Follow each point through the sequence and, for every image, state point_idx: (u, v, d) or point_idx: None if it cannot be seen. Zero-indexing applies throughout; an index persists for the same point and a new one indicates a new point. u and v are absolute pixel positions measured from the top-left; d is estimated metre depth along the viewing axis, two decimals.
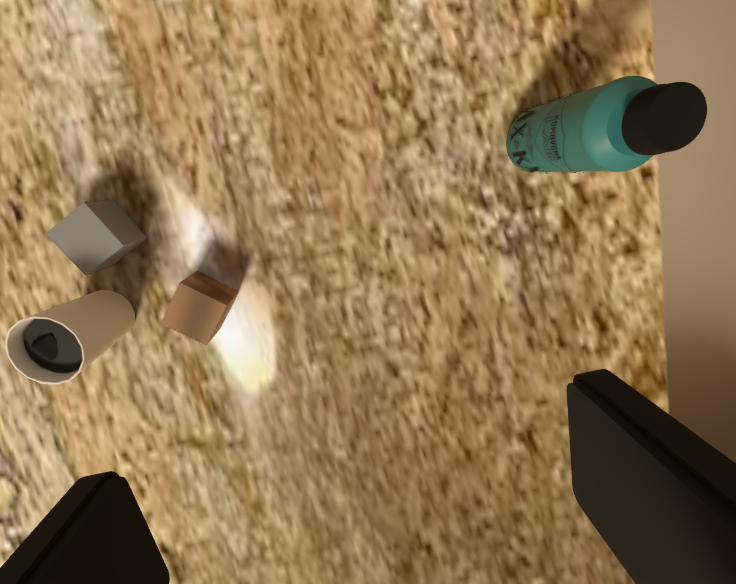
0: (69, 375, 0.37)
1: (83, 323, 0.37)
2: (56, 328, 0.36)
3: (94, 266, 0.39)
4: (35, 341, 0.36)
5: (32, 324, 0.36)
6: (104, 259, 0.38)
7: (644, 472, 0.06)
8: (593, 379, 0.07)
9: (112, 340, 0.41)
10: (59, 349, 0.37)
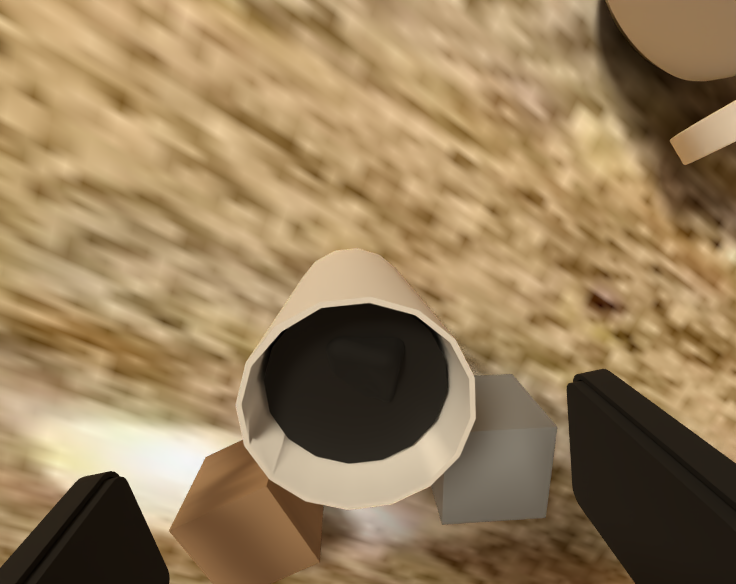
0: (256, 370, 0.11)
1: None
2: (393, 418, 0.13)
3: None
4: (399, 367, 0.12)
5: (440, 377, 0.12)
6: (445, 481, 0.18)
7: (644, 472, 0.06)
8: (593, 379, 0.07)
9: None
10: (339, 383, 0.12)
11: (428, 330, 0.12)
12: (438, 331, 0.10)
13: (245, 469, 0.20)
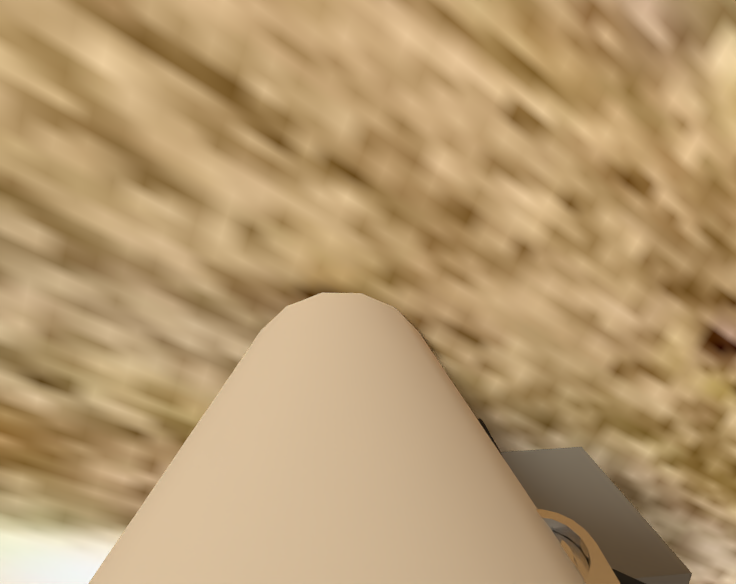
0: None
1: None
2: None
3: None
4: None
5: None
6: None
7: None
8: None
9: None
10: None
11: None
12: None
13: None
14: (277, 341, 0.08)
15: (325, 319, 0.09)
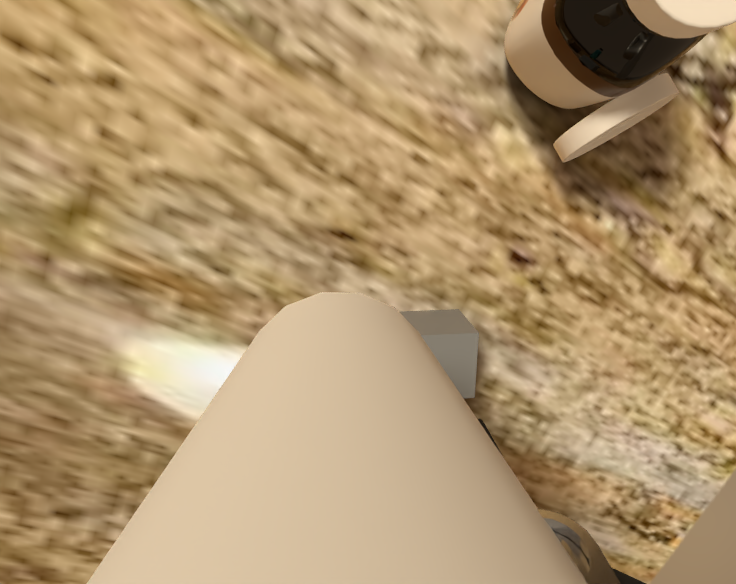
0: None
1: None
2: None
3: None
4: None
5: None
6: None
7: None
8: None
9: None
10: None
11: None
12: None
13: None
14: (276, 340, 0.08)
15: (324, 318, 0.09)
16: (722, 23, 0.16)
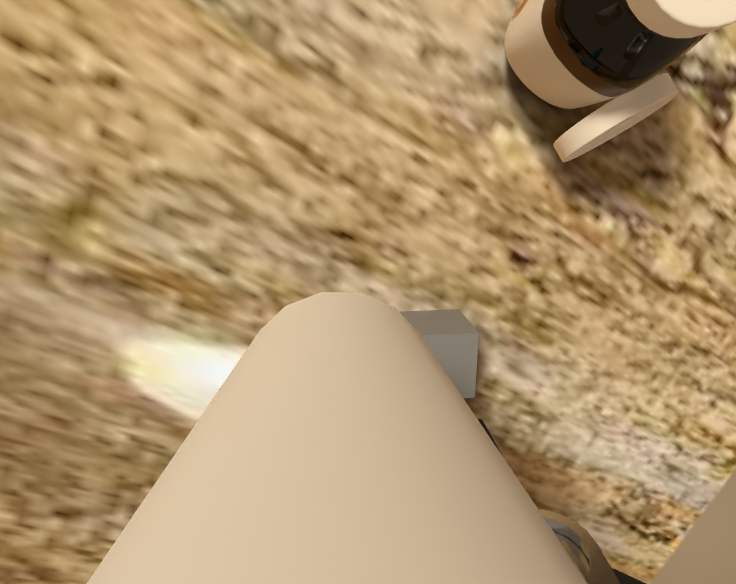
0: None
1: None
2: None
3: None
4: None
5: None
6: None
7: None
8: None
9: None
10: None
11: None
12: None
13: None
14: (276, 340, 0.08)
15: (324, 318, 0.09)
16: (722, 23, 0.16)
